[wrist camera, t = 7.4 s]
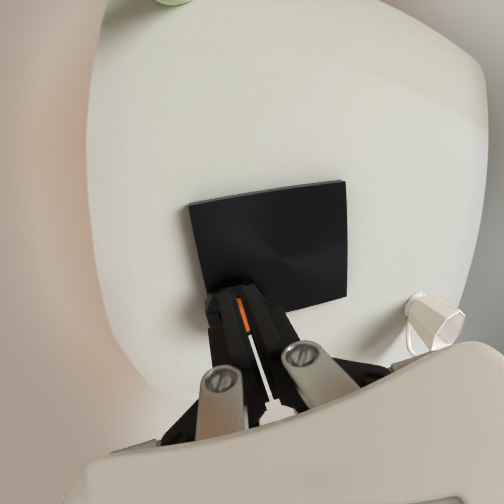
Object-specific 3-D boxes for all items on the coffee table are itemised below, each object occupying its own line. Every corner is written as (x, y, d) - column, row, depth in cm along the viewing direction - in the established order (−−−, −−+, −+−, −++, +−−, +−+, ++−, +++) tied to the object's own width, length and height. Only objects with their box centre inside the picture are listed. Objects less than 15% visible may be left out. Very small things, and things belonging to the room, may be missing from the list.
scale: (211, 325, 30) (213, 342, 27) (183, 204, 25) (182, 211, 22) (341, 295, 32) (353, 307, 29) (340, 179, 27) (355, 183, 24)
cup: (436, 283, 35) (472, 308, 28) (413, 338, 38) (442, 367, 31) (407, 282, 34) (445, 311, 26) (382, 342, 37) (412, 376, 29)
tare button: (224, 326, 27) (226, 337, 25) (218, 301, 26) (220, 311, 24) (254, 320, 27) (258, 330, 26) (250, 294, 26) (254, 304, 25)
